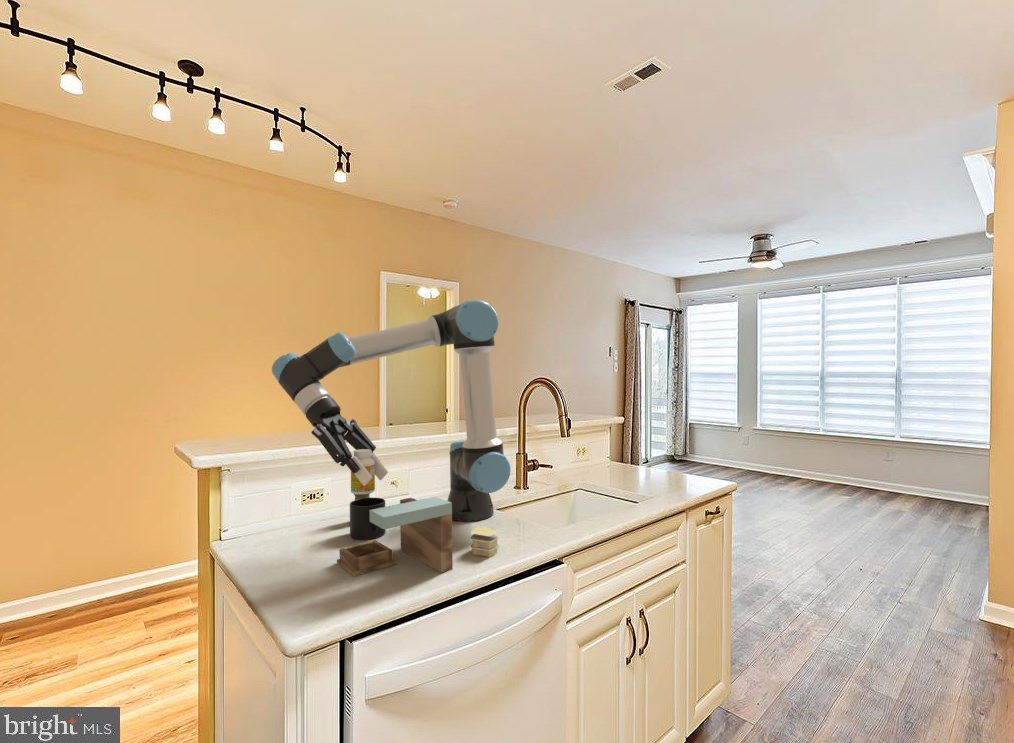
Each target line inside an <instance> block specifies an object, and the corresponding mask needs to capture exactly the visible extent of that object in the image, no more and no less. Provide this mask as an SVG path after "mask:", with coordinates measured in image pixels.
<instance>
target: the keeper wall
mask: <svg viewBox="0 0 1014 743" xmlns="http://www.w3.org/2000/svg"><path fill="white" fill-rule="evenodd" d="M417 500H418V499H415V498H413V497H409V498H408V497H407V498H403V499H400V500H399V504H402V503H407V502H412V501H417ZM399 528H400V550H401V551H403V552H404V553H406V554H408V555H410V556H411V557H414V558H415V559H417V560H419V561H421V562H422V563H424V564H425V565H427V566H429V567H431V568H432V569H434V570H436V571H438V572H439V573H444V572H447V571H450V570H453V567H454V566H453V520H452V514H448V515H444V516H440V517H436V518H431V519H427V520H423V521H418V522H414V523H410V524H406V525H401V526H399Z"/></svg>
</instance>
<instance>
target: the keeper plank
mask: <svg viewBox="0 0 1014 743" xmlns="http://www.w3.org/2000/svg"><path fill="white" fill-rule="evenodd" d="M416 500H417V501H412V502H407V503H402V504H400V503H398V504H393V505H388V506H385V507H382V508H377V509H372V510H370V522H371V523H373V524H375V525H377V526H379V527H380V528H382V529H386V530H387V529H391V528H392V529H393V528H397V527H400V526H401V525H406V524H410V523H414V522H418V521H423V520H427V519H431V518H436V517H440V516H444V515H448V514H452V503H451V502H449V501H447V500H445V499H442V498H439V497H437V496H433V497H427V498H423V499H416Z"/></svg>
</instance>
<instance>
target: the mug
mask: <svg viewBox="0 0 1014 743" xmlns="http://www.w3.org/2000/svg"><path fill="white" fill-rule="evenodd" d="M382 507H386V499H384V498H381V497H370V498H362V499H357V500H355V499H354V500H352V501H350V503H349V535H350V537H351V539H353V540H360V541H366V540H367V541H368V540H374V539H375V540H376V539H378V538H380V537H383V536H385V534H386V530H387V529H382V528H380V527H379V526H377V525H375V524H373V523H371V522H370V510H372V509H377V508H382Z"/></svg>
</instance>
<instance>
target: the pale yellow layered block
mask: <svg viewBox="0 0 1014 743" xmlns="http://www.w3.org/2000/svg"><path fill="white" fill-rule="evenodd" d="M470 533H471V534H472V535H471V536H470V540H471V543H472V544H470V548H471V551H472V552H471V553H472V555H474V556H482V557H486V558H491V557H493V556H494V555H497V554H498V548H500V545H499V544H498V539H500V537H499V536H497V535H496V534H497V533H499V531H497V530H495V529H493V528H490V527H489V526H476V527H474V528H473V529H472V530H471V531H470Z"/></svg>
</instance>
